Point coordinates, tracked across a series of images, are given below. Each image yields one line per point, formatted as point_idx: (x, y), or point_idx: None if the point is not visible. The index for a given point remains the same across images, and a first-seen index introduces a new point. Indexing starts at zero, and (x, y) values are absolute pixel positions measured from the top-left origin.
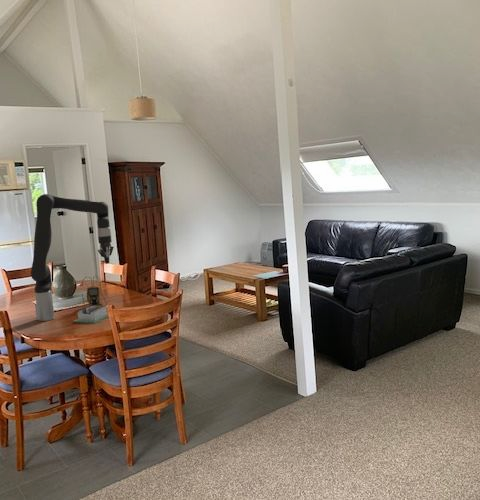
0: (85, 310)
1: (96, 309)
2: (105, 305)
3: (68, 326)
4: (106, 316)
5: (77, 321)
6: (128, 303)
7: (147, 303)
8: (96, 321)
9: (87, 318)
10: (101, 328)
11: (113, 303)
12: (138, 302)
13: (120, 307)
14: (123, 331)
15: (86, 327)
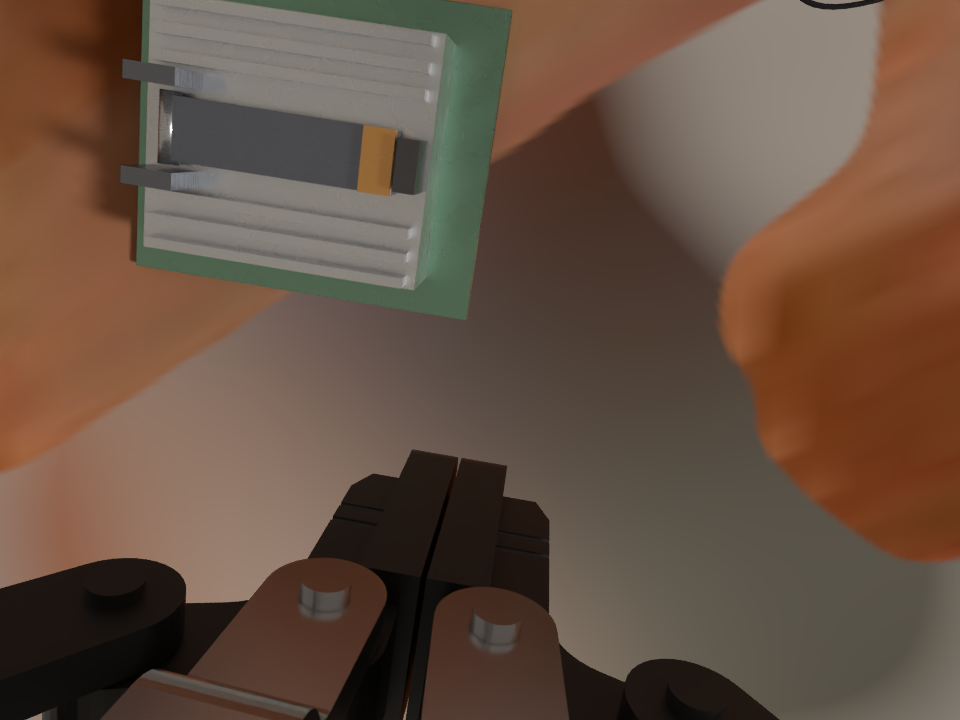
0: (176, 86)
1: (297, 179)
2: (835, 7)
3: (8, 5)
4: (343, 281)
5: (143, 26)
6: (920, 282)
7: (892, 510)
8: (172, 256)
9: None
10: (32, 392)
11: (945, 68)
12: (953, 390)
13: (738, 258)
14: None
15: (24, 230)
